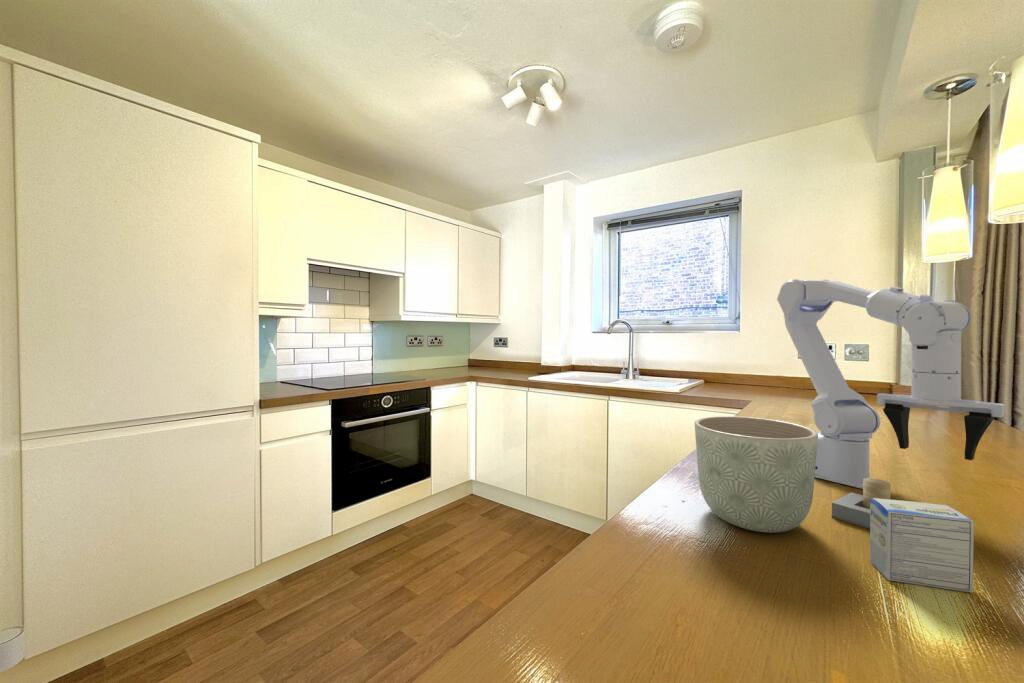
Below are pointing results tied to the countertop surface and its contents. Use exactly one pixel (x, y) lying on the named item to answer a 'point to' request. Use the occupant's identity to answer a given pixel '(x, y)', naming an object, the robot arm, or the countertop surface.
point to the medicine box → (922, 544)
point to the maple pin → (874, 490)
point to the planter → (756, 471)
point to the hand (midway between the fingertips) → (935, 453)
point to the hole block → (851, 510)
